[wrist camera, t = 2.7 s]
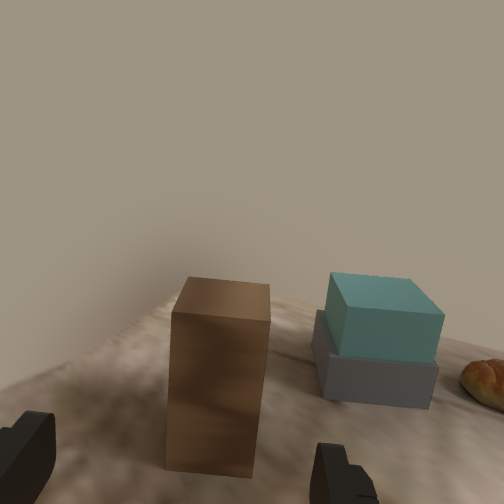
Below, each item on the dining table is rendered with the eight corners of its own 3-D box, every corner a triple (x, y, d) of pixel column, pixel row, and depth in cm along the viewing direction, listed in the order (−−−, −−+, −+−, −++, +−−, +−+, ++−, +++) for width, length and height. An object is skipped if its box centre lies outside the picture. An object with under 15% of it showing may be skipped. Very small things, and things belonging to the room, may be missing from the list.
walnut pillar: (253, 419, 29) (269, 284, 26) (251, 478, 24) (270, 321, 21) (181, 412, 29) (188, 276, 26) (165, 470, 24) (171, 311, 21)
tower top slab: (401, 320, 38) (410, 279, 37) (432, 363, 31) (445, 314, 30) (324, 313, 38) (330, 272, 36) (339, 355, 31) (347, 306, 30)
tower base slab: (395, 356, 39) (404, 318, 38) (427, 413, 32) (439, 367, 31) (311, 348, 39) (317, 309, 38) (322, 403, 32) (330, 357, 31)
